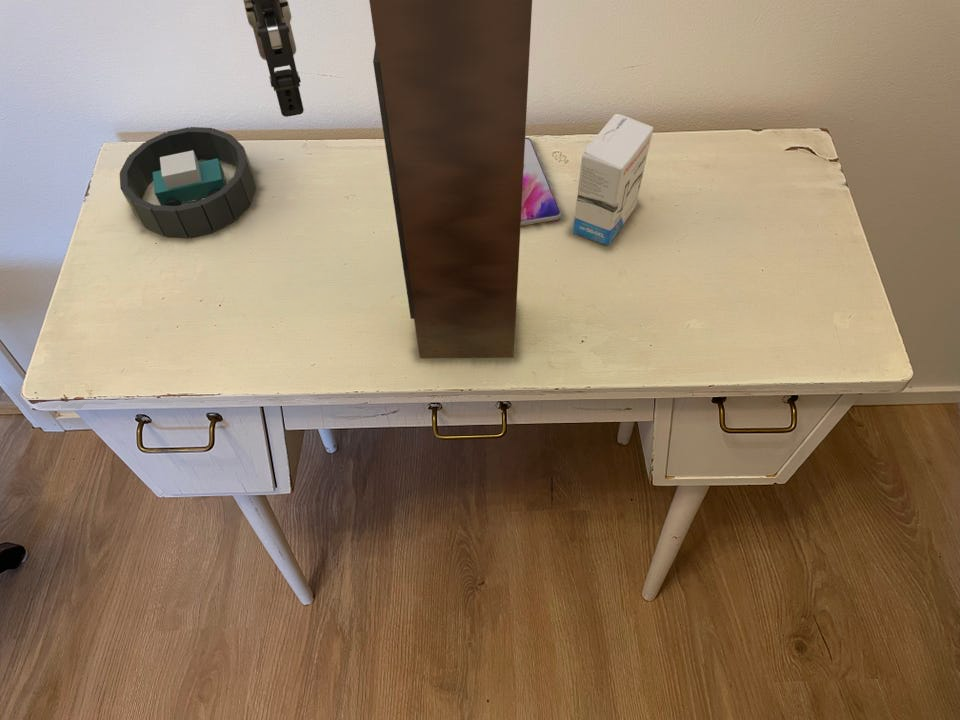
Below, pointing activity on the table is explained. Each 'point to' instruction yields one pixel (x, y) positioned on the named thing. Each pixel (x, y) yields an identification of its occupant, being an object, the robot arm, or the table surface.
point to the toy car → (187, 179)
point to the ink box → (611, 178)
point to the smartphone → (536, 190)
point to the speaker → (456, 163)
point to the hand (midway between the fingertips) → (286, 88)
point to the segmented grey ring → (198, 214)
